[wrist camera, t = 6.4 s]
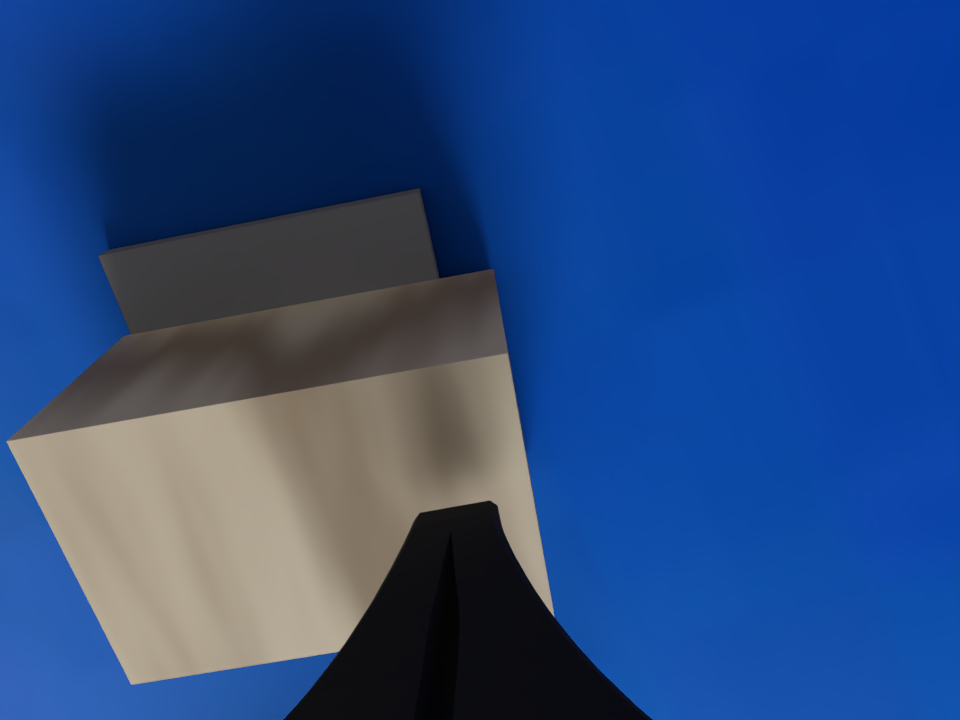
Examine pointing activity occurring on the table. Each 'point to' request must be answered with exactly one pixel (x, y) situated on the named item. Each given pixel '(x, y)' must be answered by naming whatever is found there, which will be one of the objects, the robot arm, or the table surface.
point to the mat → (273, 262)
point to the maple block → (277, 469)
